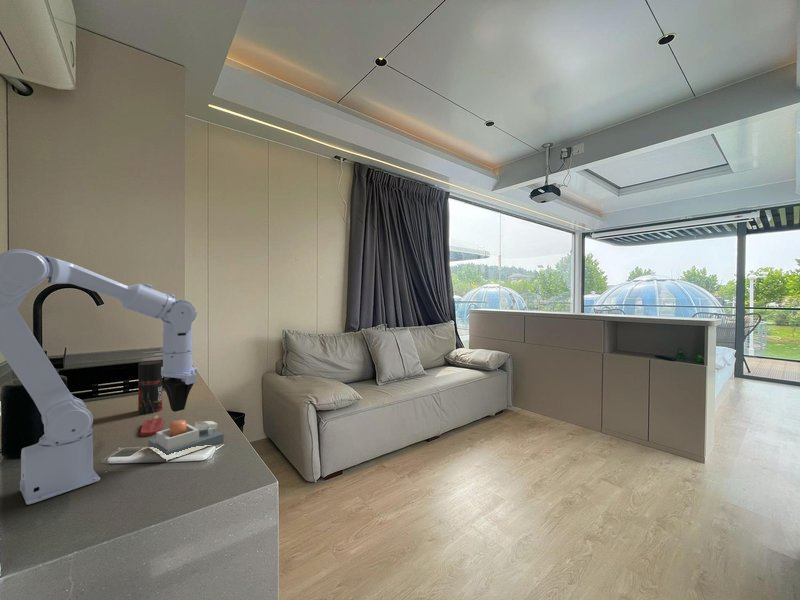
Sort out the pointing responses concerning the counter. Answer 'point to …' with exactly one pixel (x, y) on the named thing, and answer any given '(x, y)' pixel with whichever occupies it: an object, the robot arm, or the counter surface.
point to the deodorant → (149, 387)
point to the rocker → (205, 425)
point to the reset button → (177, 427)
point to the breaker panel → (185, 439)
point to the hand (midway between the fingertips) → (178, 410)
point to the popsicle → (152, 426)
